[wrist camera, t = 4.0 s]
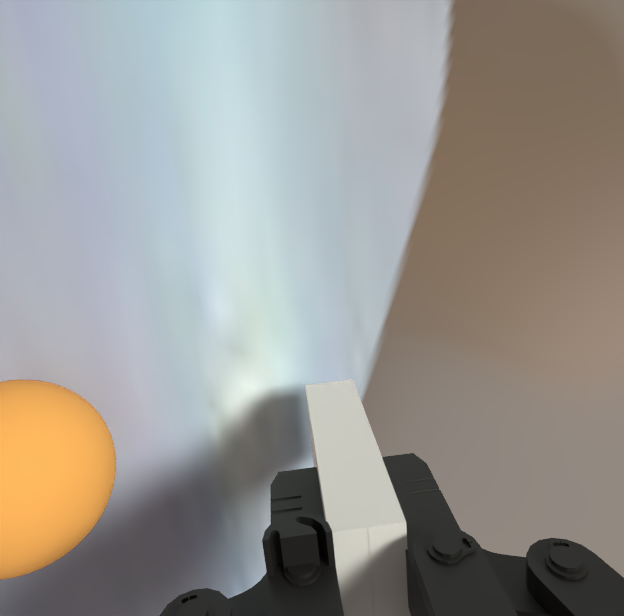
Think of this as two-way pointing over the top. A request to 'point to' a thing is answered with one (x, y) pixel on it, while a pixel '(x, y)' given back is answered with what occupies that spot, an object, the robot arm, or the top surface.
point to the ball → (49, 473)
